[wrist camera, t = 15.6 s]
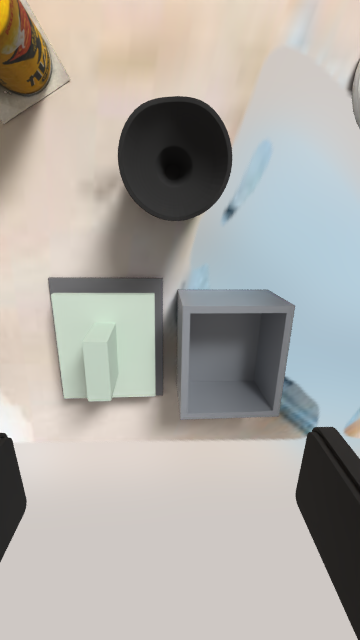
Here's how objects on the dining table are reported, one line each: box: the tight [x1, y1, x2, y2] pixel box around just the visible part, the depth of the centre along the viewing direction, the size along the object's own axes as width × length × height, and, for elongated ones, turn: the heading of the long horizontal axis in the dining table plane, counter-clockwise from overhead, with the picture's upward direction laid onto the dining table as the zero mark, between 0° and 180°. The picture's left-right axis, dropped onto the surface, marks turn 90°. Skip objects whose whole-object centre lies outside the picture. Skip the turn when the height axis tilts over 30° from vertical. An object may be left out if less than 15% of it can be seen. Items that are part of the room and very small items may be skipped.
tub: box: [176, 290, 295, 420], centre depth 36 cm, size 12×14×8 cm
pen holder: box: [118, 96, 232, 221], centre depth 28 cm, size 9×9×10 cm
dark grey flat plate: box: [48, 277, 163, 396], centre depth 38 cm, size 14×17×1 cm
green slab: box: [51, 293, 156, 402], centre depth 34 cm, size 12×14×8 cm
